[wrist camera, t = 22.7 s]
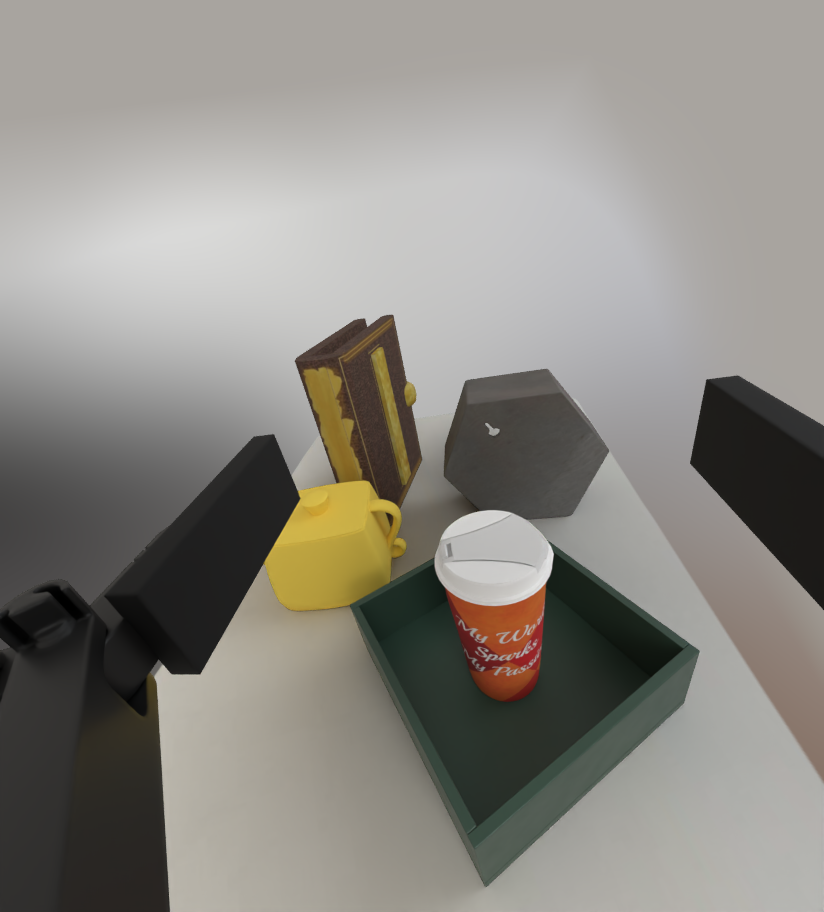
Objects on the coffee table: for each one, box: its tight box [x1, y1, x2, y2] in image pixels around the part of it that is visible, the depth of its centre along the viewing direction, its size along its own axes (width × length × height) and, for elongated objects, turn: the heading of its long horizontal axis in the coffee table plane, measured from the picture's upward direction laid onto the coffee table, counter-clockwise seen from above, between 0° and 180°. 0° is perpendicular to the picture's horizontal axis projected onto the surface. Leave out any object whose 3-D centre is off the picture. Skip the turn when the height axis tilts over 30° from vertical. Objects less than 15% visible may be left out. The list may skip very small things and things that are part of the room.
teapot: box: [264, 481, 407, 611], centre depth 47 cm, size 20×12×12 cm, turn 91°
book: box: [295, 315, 422, 526], centre depth 58 cm, size 22×8×25 cm, turn 164°
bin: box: [350, 540, 700, 887], centre depth 34 cm, size 19×19×7 cm
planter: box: [444, 369, 609, 519], centre depth 50 cm, size 17×8×21 cm
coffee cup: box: [435, 510, 554, 702], centre depth 31 cm, size 8×8×15 cm
